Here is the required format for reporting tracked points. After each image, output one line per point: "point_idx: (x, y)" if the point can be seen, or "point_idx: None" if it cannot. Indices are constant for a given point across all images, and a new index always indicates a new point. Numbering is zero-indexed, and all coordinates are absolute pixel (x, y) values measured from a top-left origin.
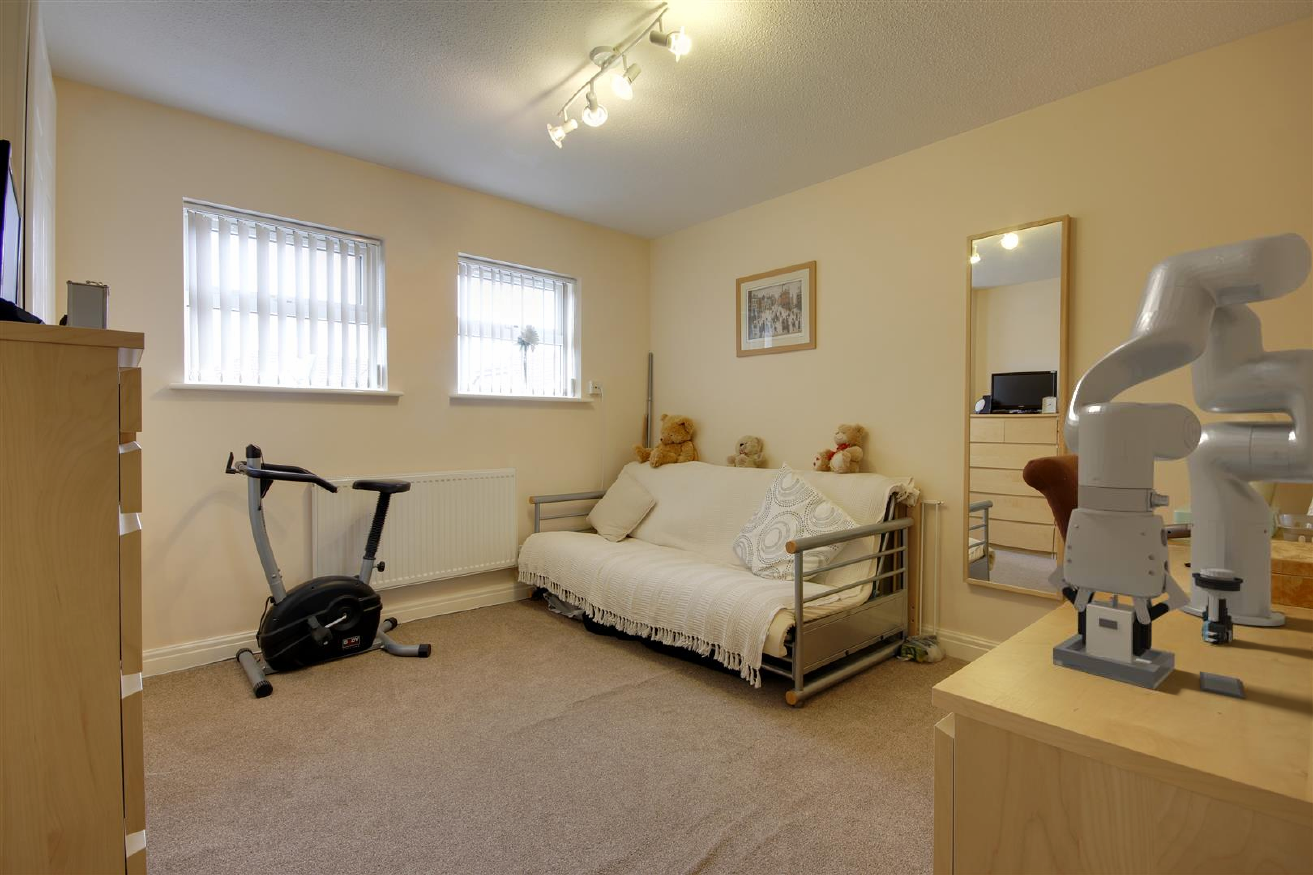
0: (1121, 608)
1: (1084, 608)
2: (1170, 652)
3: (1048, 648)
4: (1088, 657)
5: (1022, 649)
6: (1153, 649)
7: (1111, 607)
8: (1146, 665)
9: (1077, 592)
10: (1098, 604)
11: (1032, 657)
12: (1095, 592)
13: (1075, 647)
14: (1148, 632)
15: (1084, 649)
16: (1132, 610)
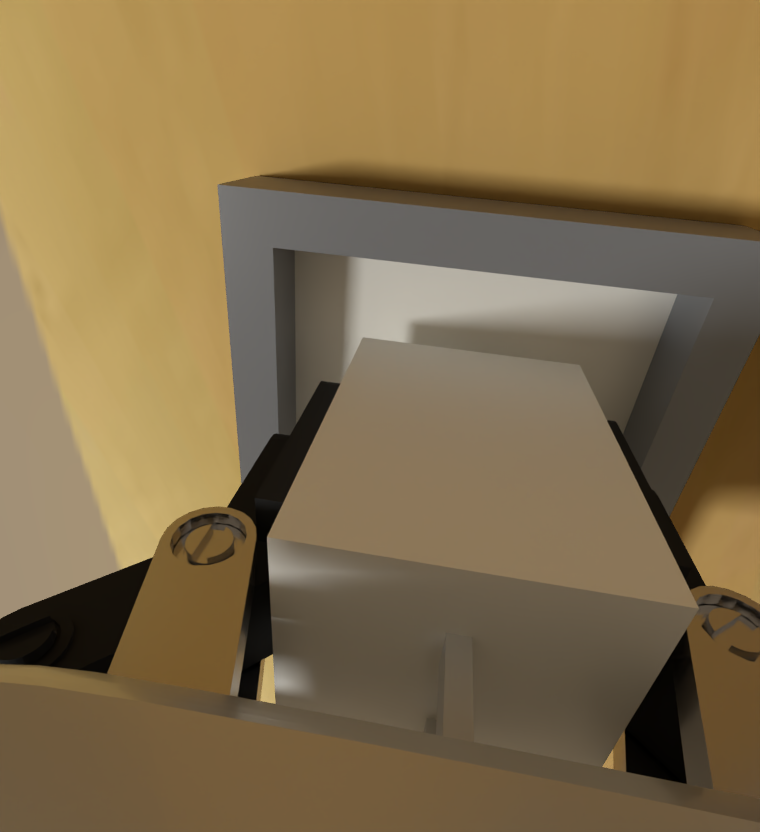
0: (508, 735)
1: (262, 667)
2: None
3: (174, 333)
4: None
5: (124, 429)
6: (668, 255)
7: None
8: (595, 369)
9: (102, 667)
10: (335, 702)
11: (197, 499)
12: (233, 668)
13: (288, 413)
14: None
15: (308, 308)
16: (591, 748)
